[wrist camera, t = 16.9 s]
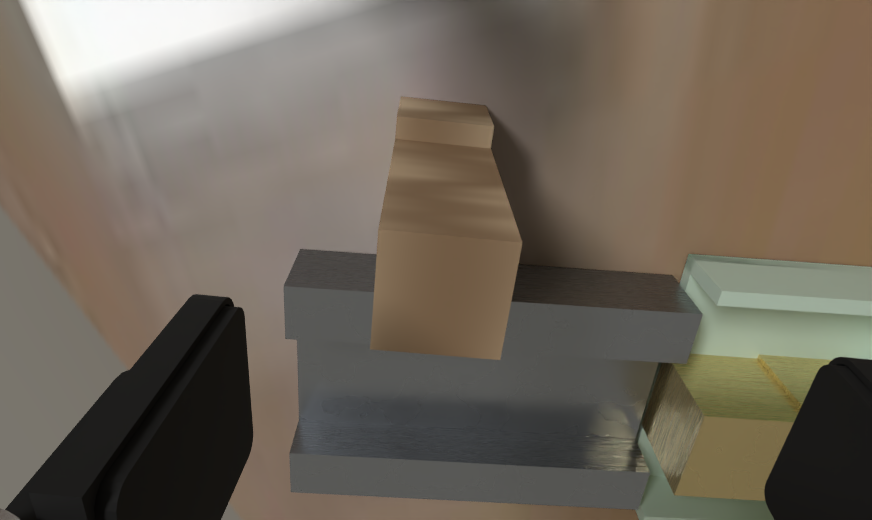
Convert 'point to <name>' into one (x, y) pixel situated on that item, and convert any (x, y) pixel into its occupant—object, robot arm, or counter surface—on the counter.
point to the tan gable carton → (444, 237)
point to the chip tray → (762, 343)
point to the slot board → (483, 390)
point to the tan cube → (717, 426)
